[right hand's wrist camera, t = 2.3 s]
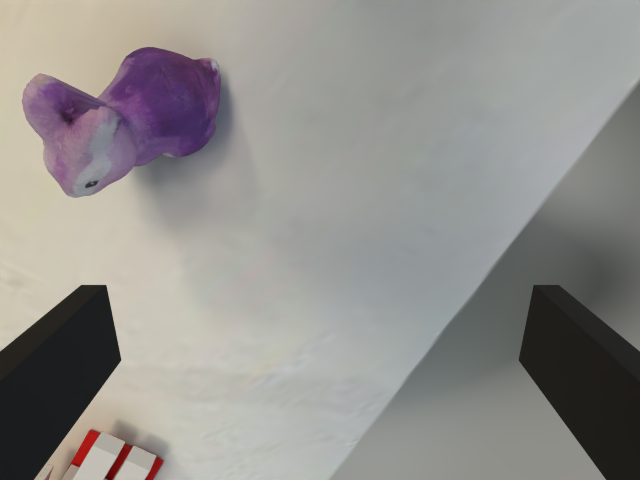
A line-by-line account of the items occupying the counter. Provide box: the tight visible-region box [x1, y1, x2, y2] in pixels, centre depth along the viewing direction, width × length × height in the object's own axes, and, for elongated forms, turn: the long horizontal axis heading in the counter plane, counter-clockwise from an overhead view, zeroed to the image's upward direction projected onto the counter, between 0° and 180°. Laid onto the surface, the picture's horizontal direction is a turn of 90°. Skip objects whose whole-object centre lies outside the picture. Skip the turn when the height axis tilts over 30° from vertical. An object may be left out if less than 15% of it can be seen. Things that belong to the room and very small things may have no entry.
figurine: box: [22, 47, 221, 198], centre depth 28 cm, size 9×10×15 cm
